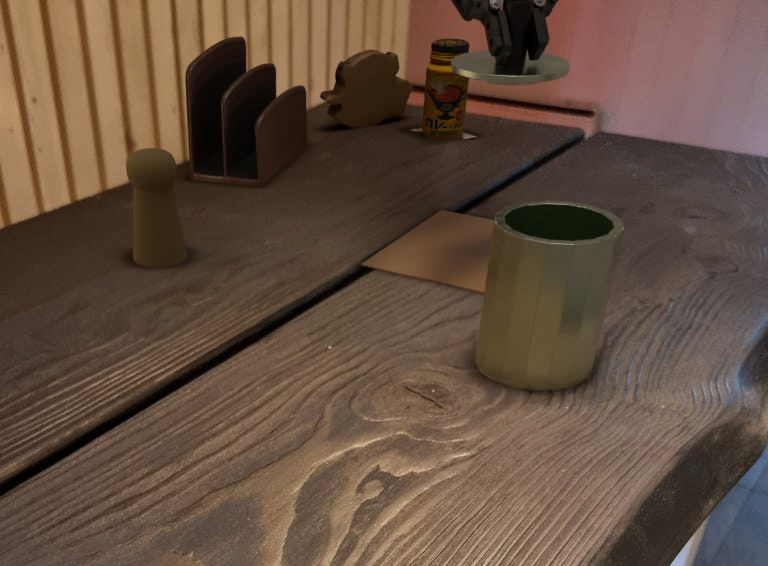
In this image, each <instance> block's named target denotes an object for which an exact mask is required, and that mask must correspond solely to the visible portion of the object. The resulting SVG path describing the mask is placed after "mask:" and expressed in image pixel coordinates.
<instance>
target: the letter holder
mask: <svg viewBox="0 0 768 566" xmlns="http://www.w3.org/2000/svg"><path fill="white" fill-rule="evenodd" d="M184 76H185V78H184V83H185V105H186V106H185V107H186V108H185V109H186V123H187V124H186V125H187V142H188V157H189V179H190V180H191V181H197V182H207V183H217V184H228V185H236V186H237V185H238V186H247V187H257V188H261V187H263V186H264V185H265V184H266V183H267V182H268V181H270V180H271V179H272V178H273V177H274V176H275V175H276V174H277V173H278V172H280V171H281V170H282V169H283V168H284V167H285V166H286V165H287V164H289V163H290V162H291V161H292V160H293V159H294V158H295V157H297V155H299V154H300V153H301V152H302V151H304V149H305V148H307V147H308V146H309V145H308V141H309V140H308V109H307V89H306V86H305V85H303V84H300V85H295V86H292V87H290V88H288V89H286V90H284V91H283V92H282V93H280V94H279V95H278V96H277V68H276V65H275V63H273V62H268V63H262V64H258V65H256V66H254V67H252V68H250V69H248V70H247V42H246V38H245V37H244V36H230V37H227V38H224V39H221V40H219V41H217V42H215V43H214V44H212V45H211V46H209V47H208V48H206V49H205V50H204V51H203V52H201V53H200V54H199V55H197V56H196V57H195V58H194V59H193V60H192V61H191V62H190V63H189V64H188V65H187V67H186V70H185V75H184Z"/></svg>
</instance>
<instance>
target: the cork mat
mask: <svg viewBox="0 0 768 566" xmlns="http://www.w3.org/2000/svg"><path fill="white" fill-rule="evenodd" d="M493 224H494V219H491V218H487V217H481V216H476V215H472V214H471V215H470V214H466V213H465V214H464V213H460V212H454V211H450V210H449V211H448V210H443V209H441V210H439V211H437V212H436V213H435V214H433V215H431V216H430V217H429V218H427V219H426V220H425V221H423V222H422V223H420V224H419V225H417V226H416V227H414V228H413V229H411V230H409V231H408V232H406V233H405V234H403V235H402V236H401V237H398V239H396V240H395V241H393V242H392V243H390V244H389V245H387V246H386V247H384V248H383V249H381V250H380V251H378V252H377V253H375V254H374V255H372V256H371V257H370V258H368V259H366V260H365V261H363V262H361V264H360V266H361V267H363V268H364V267H365V268H369V269H372V270H378V271H382V272H387V273H390V274H396V275H399V276H403V277H409V278H413V279H417V280H418V279H419V280H423V281H426V282H431V283H435V284H440V285H445V286H449V287H453V288H458V289H461V290H466V291H470V292H471V291H472V292H476V293H480V294H484V290H485V283H486V275H487V268H488V261H489V253H490V246H491V239H492V232H493Z"/></svg>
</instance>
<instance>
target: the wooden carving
mask: <svg viewBox="0 0 768 566" xmlns="http://www.w3.org/2000/svg"><path fill="white" fill-rule="evenodd" d="M399 70H400V62H399V56H398V54H397V53H395V52H391V51H387V52H385V53H384V52H382V51H380V50H376V49H365V50H362V51H360V52H356V53H354V54H352V55H351V56H349V57H348V58H347V59H345V60H343V61H342V60H341V61H339V63H338V64H337V67H336V69H335V73H334V80H335V82H334V84H333V88H332V89H330V90H324V91H321V92H320V94H319V98H320V99H321V100H323V101H324V102H326V103H328V104H329V106H328V108H327V110H326V114H327V115H329V116H330V117H331V118H332V119H334V120H336V121H337V122H338V123H340V124H341V125H344V126H346V127H347V128H351V129H355V128H360V127H365V126H371V125H373V126H376V125H378V124H380V123H381V122H382V121H384V119H386V118H387V117H388V116H394V117H398V116H401V115H403V114H405V110H406V107H407V103H408V101H409V99H410V96H411V93H412V92H413V89H414V85H413V83H412V82H410V81H409V80H407V79H405V78H401V77H400V76H397V74H398V73H399V72H400V71H399Z"/></svg>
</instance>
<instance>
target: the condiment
mask: <svg viewBox="0 0 768 566" xmlns="http://www.w3.org/2000/svg"><path fill="white" fill-rule="evenodd" d="M430 44H431V45H430V48H431V49H430V55H429V59H430V61H429V63H428V64H427V67H426V69H425V81H424V82H425V84H424V92H423V93H424V95H423V96H424V97H423V98H424V99H423V104H422V105H423V112H422V113H423V114H422V124H421V127H420V128H414V129H411V131H413V132H420V133H422V135H423V136H424V137H425V138H429V139H432V140H433V139H434V140H453V139H454V140H455V139H464V140H468V139H473V138H477V136H475V135H472V134H469V133H466V132H464V128H465V118H466V111H467V109H466V108H467V100H468V93H469V81H470V78H467V77H464V76H461V75H458V74H456V73H455V72H453V71H452V69H451V61H452V59H453V58H454V57H456V56H458V55H461V54H465V53H469V52H470V43H469V41H468V40H465V39H461V38H450V37H449V38H438V39H435V40H434V41H432V43H430Z"/></svg>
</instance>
